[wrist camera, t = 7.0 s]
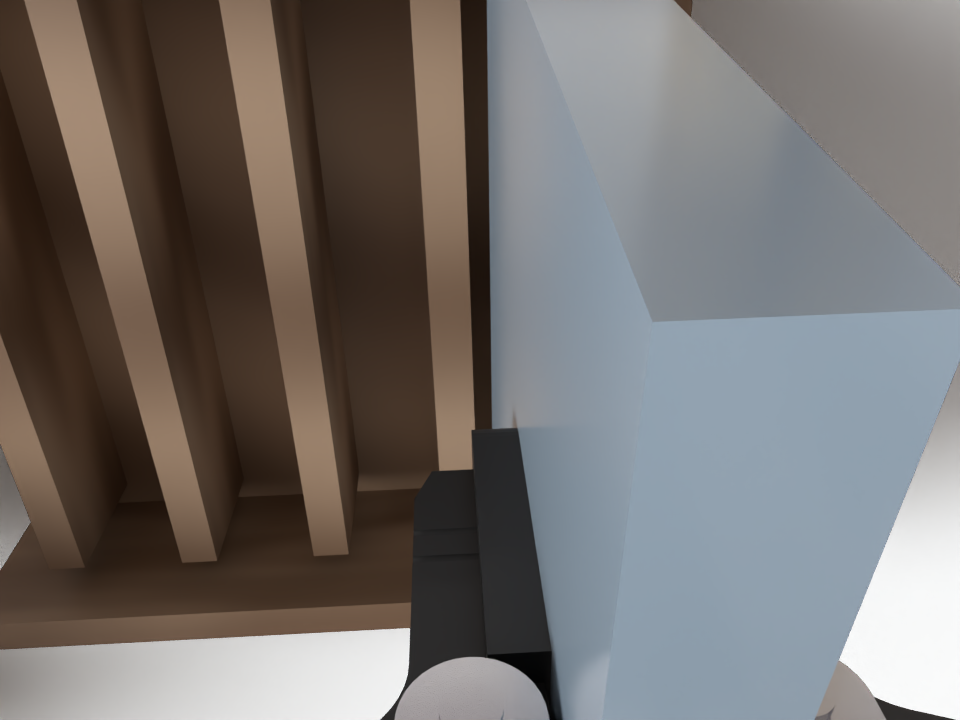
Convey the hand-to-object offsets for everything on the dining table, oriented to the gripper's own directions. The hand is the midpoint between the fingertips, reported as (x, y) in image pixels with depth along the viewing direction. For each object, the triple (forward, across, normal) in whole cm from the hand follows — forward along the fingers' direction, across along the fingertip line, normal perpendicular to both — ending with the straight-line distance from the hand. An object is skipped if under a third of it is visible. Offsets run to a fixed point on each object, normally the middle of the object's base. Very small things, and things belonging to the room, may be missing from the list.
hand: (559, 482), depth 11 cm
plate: (+6, 0, -1) cm, 6 cm away
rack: (+10, +4, 0) cm, 11 cm away
